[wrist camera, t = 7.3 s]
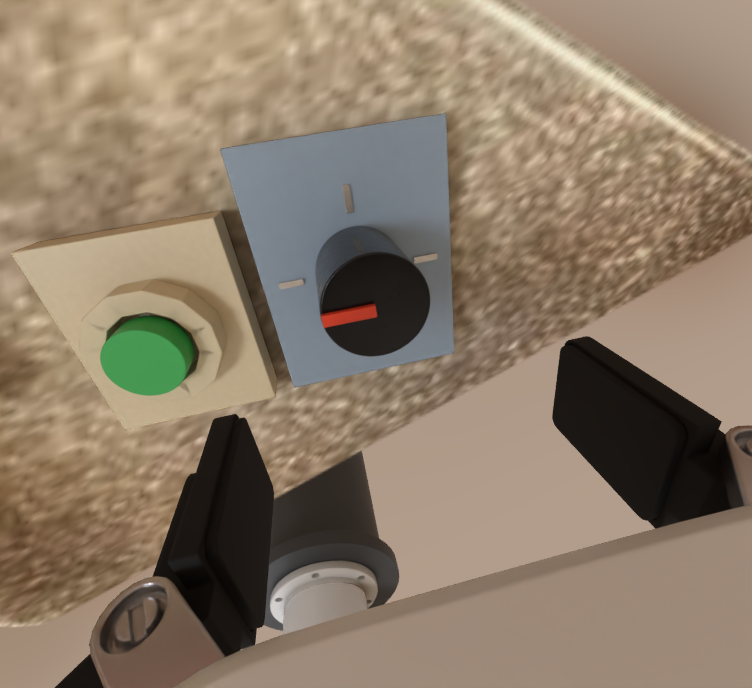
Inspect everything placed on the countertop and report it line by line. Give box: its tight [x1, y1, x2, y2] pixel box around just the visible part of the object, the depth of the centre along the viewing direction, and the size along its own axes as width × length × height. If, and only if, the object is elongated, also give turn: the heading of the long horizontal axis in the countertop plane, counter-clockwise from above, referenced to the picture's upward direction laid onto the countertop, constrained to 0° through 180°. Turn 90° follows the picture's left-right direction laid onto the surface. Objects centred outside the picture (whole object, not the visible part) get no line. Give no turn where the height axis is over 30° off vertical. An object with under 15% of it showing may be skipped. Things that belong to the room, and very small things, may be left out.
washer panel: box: [220, 113, 454, 387], centre depth 22 cm, size 14×11×3 cm
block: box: [11, 211, 277, 430], centre depth 22 cm, size 12×10×4 cm
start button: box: [100, 316, 194, 396], centre depth 20 cm, size 4×4×2 cm
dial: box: [315, 226, 430, 357], centre depth 19 cm, size 5×5×6 cm
